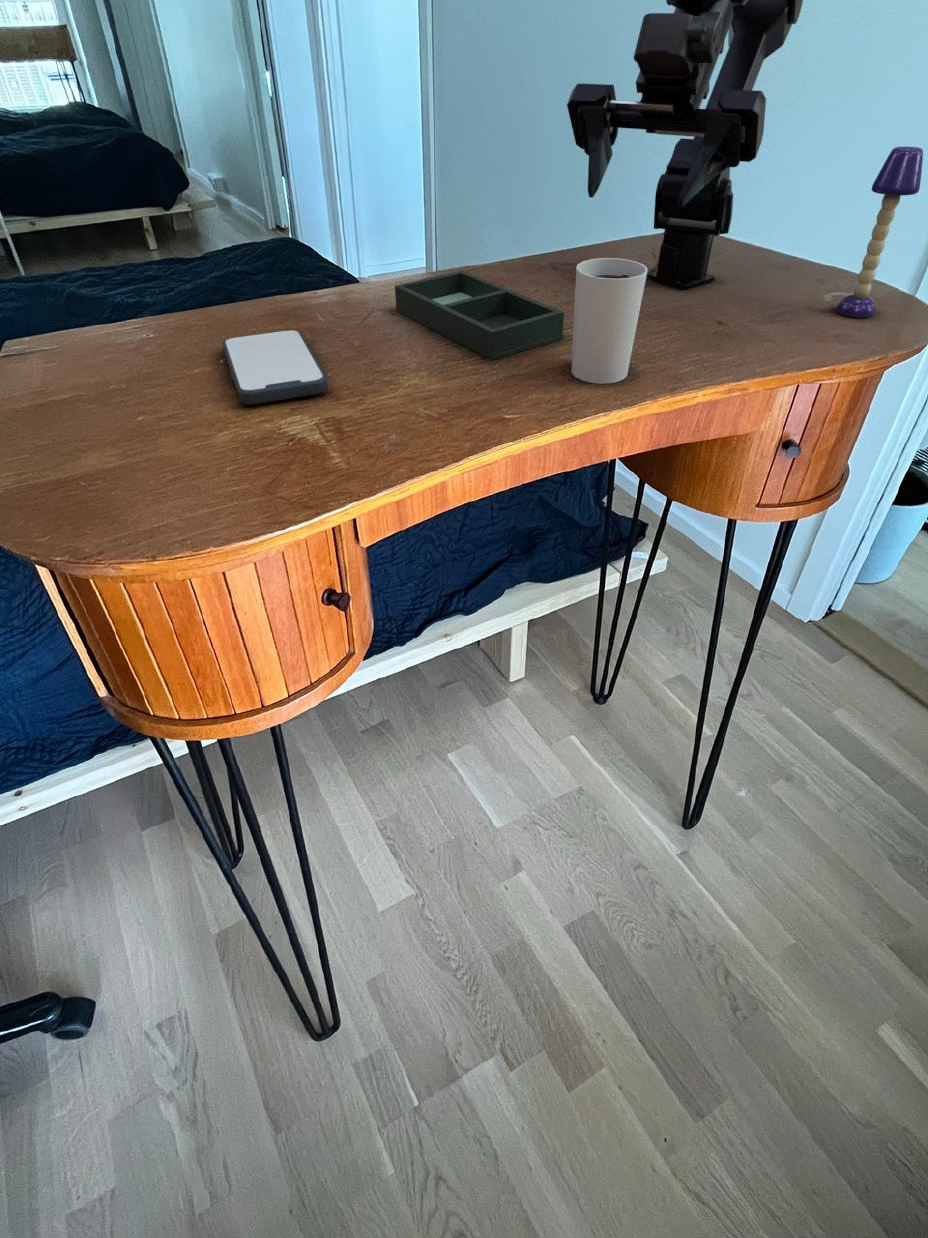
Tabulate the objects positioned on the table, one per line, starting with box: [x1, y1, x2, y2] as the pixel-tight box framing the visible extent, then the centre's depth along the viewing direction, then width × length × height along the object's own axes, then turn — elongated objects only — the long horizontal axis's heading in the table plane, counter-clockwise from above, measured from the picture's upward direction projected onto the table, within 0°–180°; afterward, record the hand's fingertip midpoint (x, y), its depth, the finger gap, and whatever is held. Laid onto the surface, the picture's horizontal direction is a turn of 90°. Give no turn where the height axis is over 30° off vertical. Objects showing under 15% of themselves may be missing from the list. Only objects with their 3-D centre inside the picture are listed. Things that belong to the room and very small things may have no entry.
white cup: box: [571, 257, 648, 385], centre depth 70 cm, size 7×7×10 cm
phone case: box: [222, 329, 329, 406], centre depth 74 cm, size 9×2×16 cm
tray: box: [394, 269, 565, 361], centre depth 83 cm, size 10×19×3 cm, turn 36°
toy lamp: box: [835, 146, 924, 319], centre depth 80 cm, size 5×5×17 cm
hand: (634, 198), depth 70 cm, fingers open, 9 cm apart
